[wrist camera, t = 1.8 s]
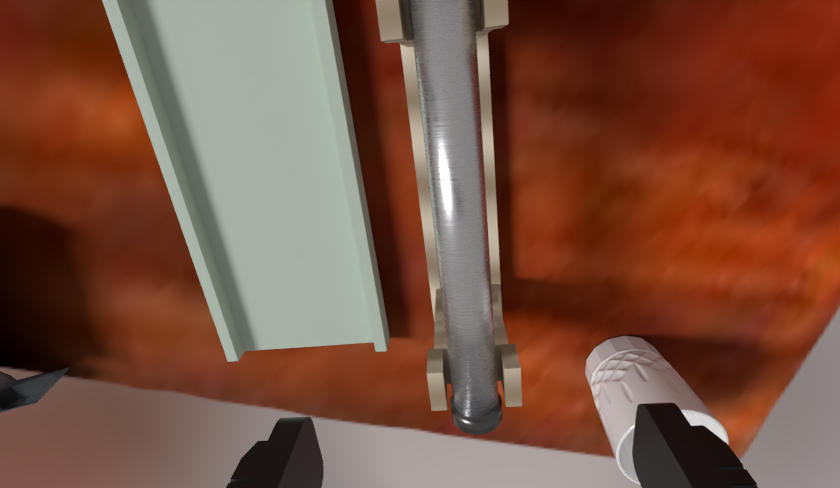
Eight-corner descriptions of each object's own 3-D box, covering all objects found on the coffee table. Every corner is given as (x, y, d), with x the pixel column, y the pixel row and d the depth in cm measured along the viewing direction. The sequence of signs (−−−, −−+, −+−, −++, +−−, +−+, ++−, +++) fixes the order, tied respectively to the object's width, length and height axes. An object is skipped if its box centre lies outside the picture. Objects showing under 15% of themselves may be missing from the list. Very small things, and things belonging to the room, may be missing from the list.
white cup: (581, 330, 40) (622, 411, 31) (670, 327, 39) (739, 409, 30) (575, 398, 43) (611, 489, 34) (658, 396, 42) (718, 489, 33)
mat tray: (123, 0, 31) (100, -5, 29) (327, -31, 30) (318, -38, 28) (238, 346, 43) (227, 361, 40) (389, 336, 41) (386, 351, 39)
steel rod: (399, -64, 21) (391, -86, 18) (471, -75, 20) (476, -100, 17) (451, 398, 31) (452, 435, 28) (499, 395, 31) (505, 433, 28)
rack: (396, -7, 30) (366, -48, 19) (482, -19, 30) (507, -70, 18) (434, 314, 40) (431, 416, 29) (500, 309, 40) (523, 411, 28)
